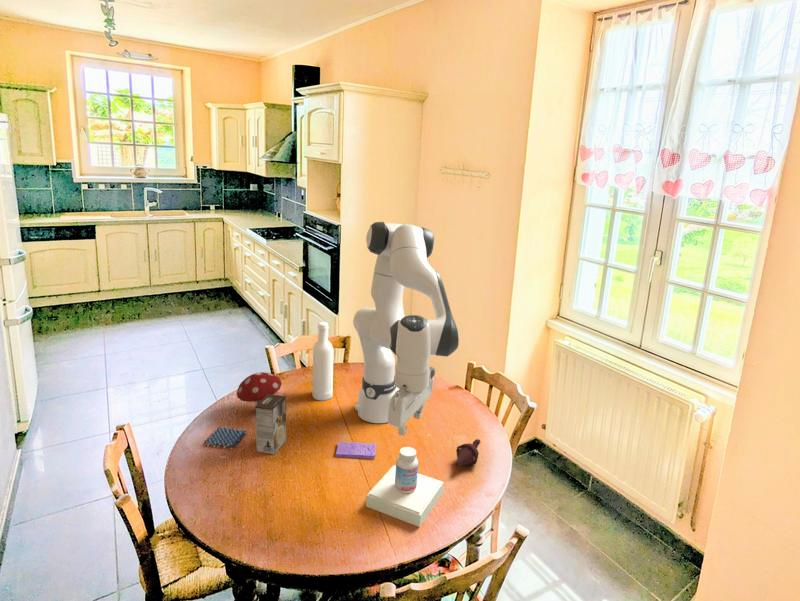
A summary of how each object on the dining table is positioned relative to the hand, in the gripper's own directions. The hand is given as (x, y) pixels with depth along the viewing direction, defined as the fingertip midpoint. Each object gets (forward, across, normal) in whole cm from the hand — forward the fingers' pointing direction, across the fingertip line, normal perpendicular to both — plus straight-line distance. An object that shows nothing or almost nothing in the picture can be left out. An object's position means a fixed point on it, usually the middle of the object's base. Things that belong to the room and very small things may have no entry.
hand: (410, 425), depth 136 cm
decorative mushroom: (+23, +16, +67) cm, 73 cm away
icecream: (+24, +24, -9) cm, 36 cm away
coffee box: (+23, +1, +49) cm, 54 cm away
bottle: (+24, +38, +55) cm, 71 cm away
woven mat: (+23, -4, +64) cm, 68 cm away
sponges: (+24, +12, +24) cm, 36 cm away
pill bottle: (+19, -1, 0) cm, 19 cm away
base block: (+23, -1, 0) cm, 23 cm away
